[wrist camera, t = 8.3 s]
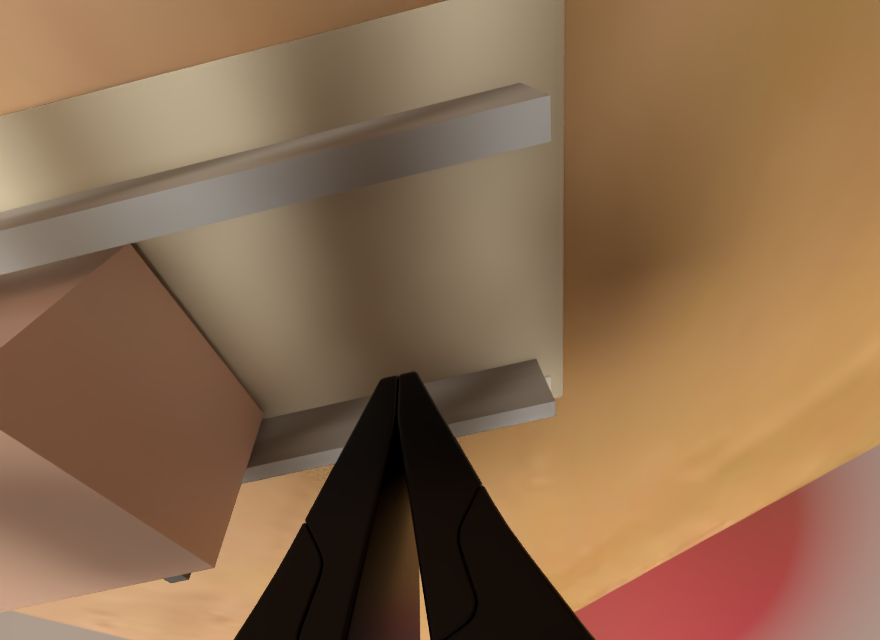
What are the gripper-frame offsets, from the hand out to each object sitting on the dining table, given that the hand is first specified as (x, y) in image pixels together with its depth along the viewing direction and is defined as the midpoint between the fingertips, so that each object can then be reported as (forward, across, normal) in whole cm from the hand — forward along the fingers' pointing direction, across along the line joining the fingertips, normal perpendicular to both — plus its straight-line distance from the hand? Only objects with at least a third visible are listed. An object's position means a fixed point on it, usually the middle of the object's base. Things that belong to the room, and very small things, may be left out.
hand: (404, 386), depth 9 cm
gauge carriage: (+3, +9, +1) cm, 10 cm away
